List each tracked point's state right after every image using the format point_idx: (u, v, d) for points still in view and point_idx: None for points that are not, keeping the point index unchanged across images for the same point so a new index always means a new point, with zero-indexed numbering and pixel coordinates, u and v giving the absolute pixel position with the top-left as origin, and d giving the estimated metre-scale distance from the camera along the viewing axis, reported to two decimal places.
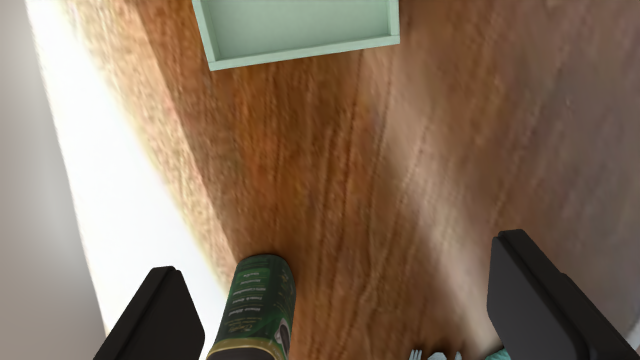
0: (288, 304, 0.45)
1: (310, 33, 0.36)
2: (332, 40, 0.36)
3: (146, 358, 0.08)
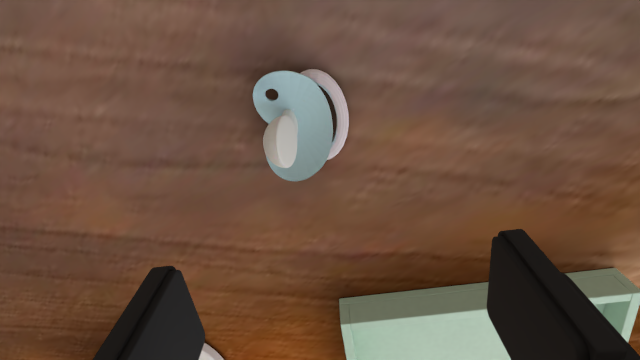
0: None
1: None
2: None
3: (146, 358, 0.08)
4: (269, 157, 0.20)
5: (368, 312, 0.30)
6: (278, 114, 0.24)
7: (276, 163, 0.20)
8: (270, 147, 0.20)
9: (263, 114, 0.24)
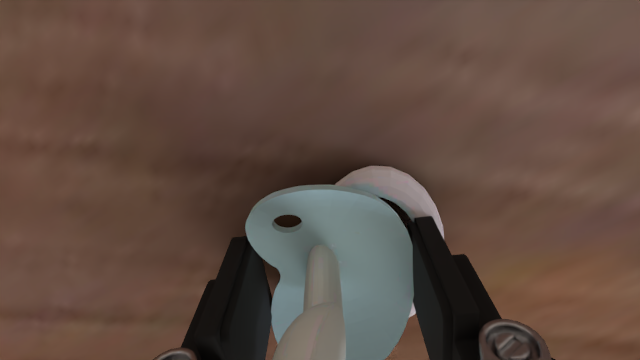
0: None
1: None
2: None
3: (244, 313, 0.09)
4: None
5: None
6: (299, 252, 0.11)
7: None
8: None
9: (268, 255, 0.11)
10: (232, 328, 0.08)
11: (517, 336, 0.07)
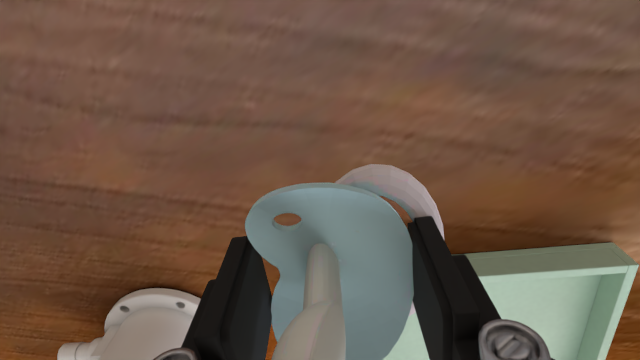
0: None
1: (576, 319, 0.34)
2: (591, 302, 0.33)
3: (244, 313, 0.09)
4: None
5: None
6: (299, 251, 0.11)
7: None
8: None
9: (268, 253, 0.11)
10: (232, 328, 0.08)
11: (517, 336, 0.07)
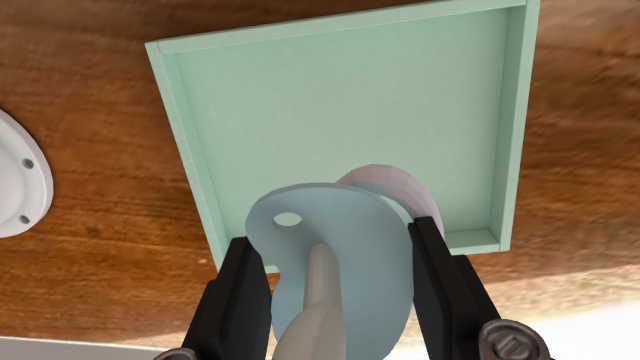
0: None
1: (483, 121, 0.26)
2: (499, 91, 0.25)
3: (244, 313, 0.09)
4: None
5: (187, 36, 0.23)
6: (299, 251, 0.11)
7: None
8: None
9: (267, 254, 0.11)
10: (232, 328, 0.08)
11: (517, 336, 0.07)
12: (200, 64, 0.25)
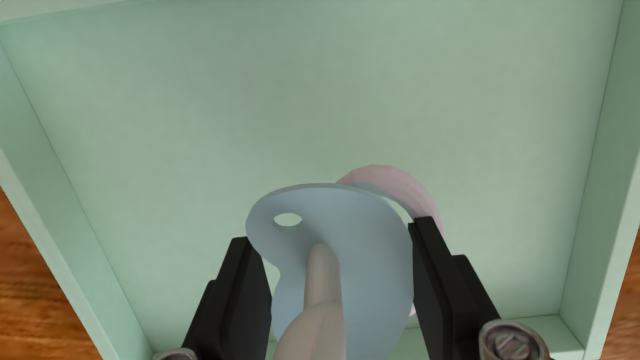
0: None
1: (565, 149, 0.15)
2: (599, 96, 0.14)
3: (244, 313, 0.09)
4: None
5: None
6: (299, 251, 0.11)
7: None
8: None
9: (268, 254, 0.11)
10: (232, 328, 0.08)
11: (517, 336, 0.07)
12: (49, 53, 0.13)
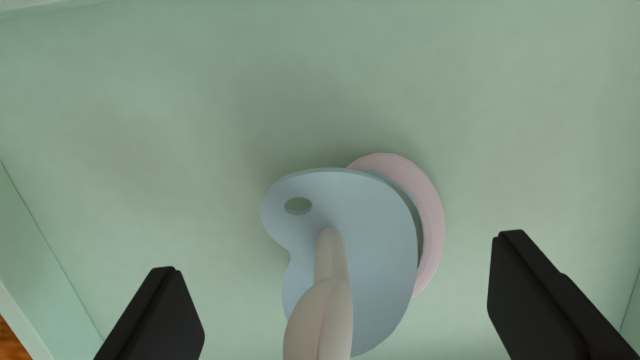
0: None
1: (632, 182, 0.12)
2: None
3: (146, 358, 0.08)
4: None
5: None
6: (308, 235, 0.12)
7: None
8: None
9: (279, 237, 0.12)
10: None
11: None
12: None
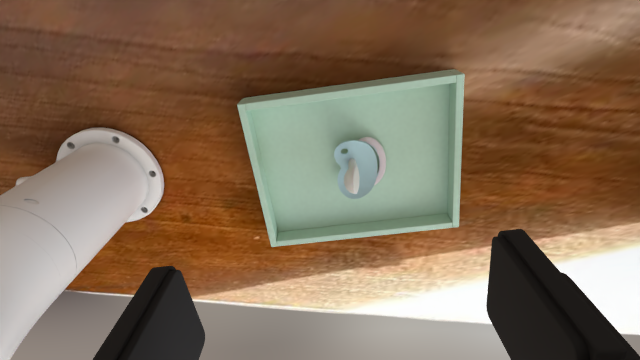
0: None
1: (439, 145, 0.42)
2: (447, 127, 0.41)
3: (146, 358, 0.08)
4: (348, 188, 0.38)
5: (260, 99, 0.39)
6: (346, 160, 0.42)
7: (351, 192, 0.38)
8: (350, 184, 0.38)
9: (338, 161, 0.42)
10: None
11: None
12: (265, 113, 0.41)
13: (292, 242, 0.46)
